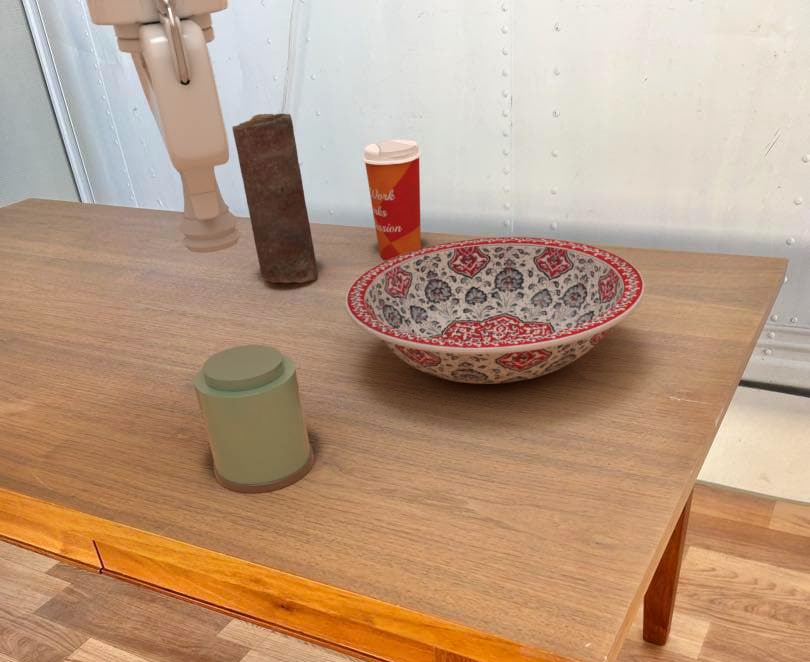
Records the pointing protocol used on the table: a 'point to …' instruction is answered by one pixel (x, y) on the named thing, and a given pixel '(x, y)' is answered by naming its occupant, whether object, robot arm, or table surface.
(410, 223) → the paper cup
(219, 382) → the upturned tumbler
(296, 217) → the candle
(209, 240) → the rook chess piece
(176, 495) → the table surface
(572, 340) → the ceramic bowl
